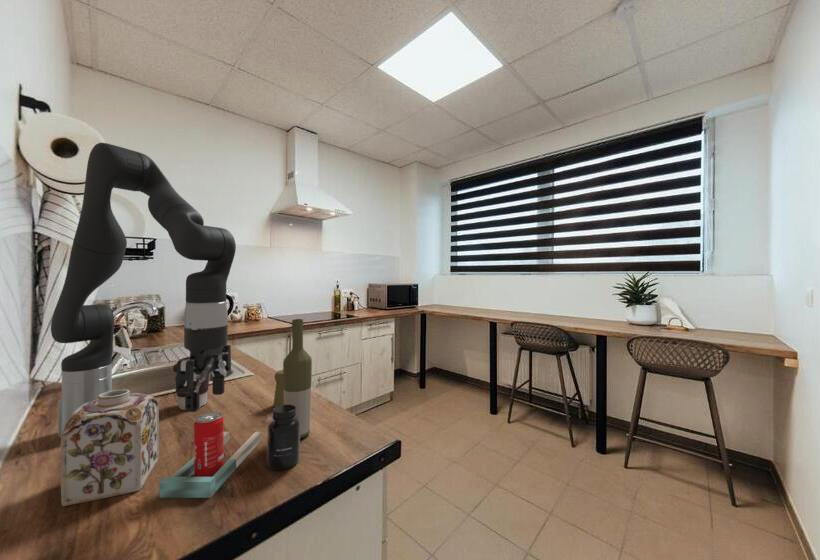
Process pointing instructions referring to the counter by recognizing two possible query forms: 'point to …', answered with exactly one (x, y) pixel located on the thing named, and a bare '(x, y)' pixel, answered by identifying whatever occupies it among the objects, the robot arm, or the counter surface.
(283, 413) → the supplement bottle
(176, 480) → the beam
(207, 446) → the beverage can
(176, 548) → the counter surface
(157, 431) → the decorative jar
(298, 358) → the bottle
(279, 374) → the cork
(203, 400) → the coffee cup
